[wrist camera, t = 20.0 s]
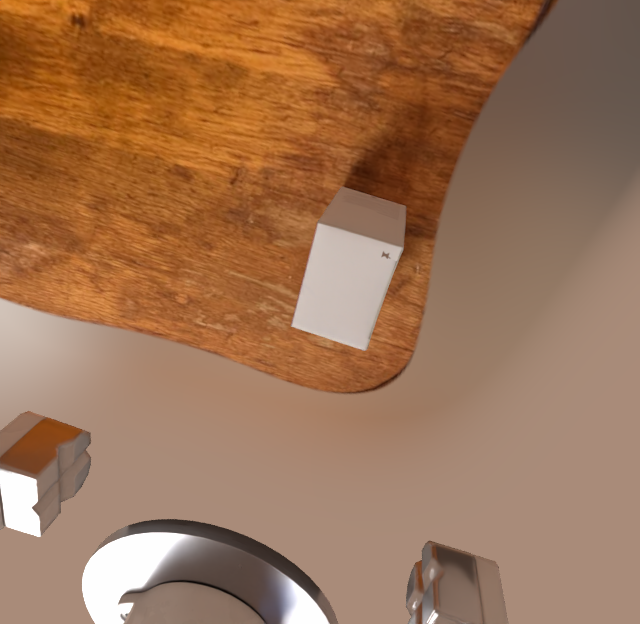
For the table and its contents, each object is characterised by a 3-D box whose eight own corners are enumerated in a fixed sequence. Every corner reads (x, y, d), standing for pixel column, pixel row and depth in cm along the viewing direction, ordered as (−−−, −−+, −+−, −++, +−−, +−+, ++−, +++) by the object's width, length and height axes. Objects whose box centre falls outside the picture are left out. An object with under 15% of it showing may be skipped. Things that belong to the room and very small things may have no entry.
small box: (341, 184, 28) (316, 217, 21) (408, 205, 28) (405, 245, 21) (316, 273, 31) (287, 328, 24) (377, 292, 31) (366, 353, 24)
